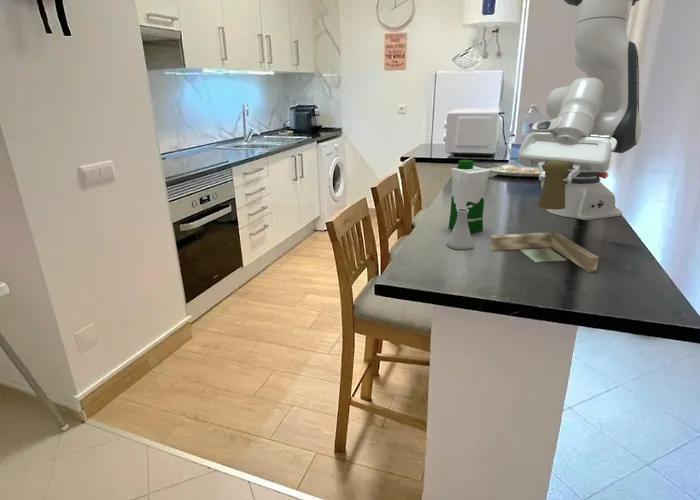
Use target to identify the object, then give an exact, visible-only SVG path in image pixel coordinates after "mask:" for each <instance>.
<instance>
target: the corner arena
mask: <svg viewBox="0 0 700 500" xmlns="http://www.w3.org/2000/svg"><path fill="white" fill-rule="evenodd" d="M489 249H490V250H491V251H494V252H495V251H509V250H510V251H511V250H512V251H513V250H520V252H521V253H523V254H524V255H526V257H527V258H529V259H530V260H532V261H533V262H534V263H546V262H547V263H548V262H549V263H550V262H567V261H566V260H567V259H568V260H569V259H570V260H569V261H571V262H573V263H574V264H575V265H577V266H578V267H580V268H581V267H582V268H581V269H582V270H584V269H585V270H584V271H586V272H587V273H589V272H590V273H593V272H594V271H595V272H597V268H598V264H599V259H600V257H599V256H597V255H596V254H594V253H593V252H592V251H589V250H587V249H586V248H584V247H582V246H581V245H579V244H577V243H576V242H574V241H572V240H570V239H569V238H567V237H565V236H564V235H562V234H560V233H558V232H557V231H550V232H549V231H546V232H543V231H542V232H527V233H511V234H510V233H509V234H508V233H507V234H493V235H492V234H491V235H490V241H489ZM554 250H555V251H554ZM561 255H562V256H561Z"/></svg>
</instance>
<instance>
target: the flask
mask: <svg viewBox="0 0 700 500" xmlns="http://www.w3.org/2000/svg"><path fill="white" fill-rule="evenodd" d="M457 212H458V215H457V220H456V223H455V226H454V228H453V230H451V233H450V235H449V237H448V239H447V242H446V246H447V247H449V248H451V249H454V250H469V249H473V248H474V242H473V238H472V234H470V230H469V226H468V220H467V214H468V213H469V210H468V209H466V208H459V209H457Z"/></svg>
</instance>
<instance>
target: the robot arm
mask: <svg viewBox="0 0 700 500" xmlns="http://www.w3.org/2000/svg"><path fill="white" fill-rule="evenodd" d="M563 1H564V2H565V3H566V4H567V5H571V6H574V7H578V6H580V7H579V11H578V15H577V21H576V28H575V33H574V35H575V36H574V46H575V49H576V50H575V56H574V63H575V66H576V67H577V69H579V70H580V72H583V73H584V74H586V77H580V78H576V79H575V80H574V81H573V82H572V83H570V85H567V86H561V87H555V88H554V89H553V90H552V91H551V92H550V94H549V95H547V99H546V102H545V111H546V114H547V116H548V117H549V118H550V119H549V120H545V121H538V122H535V123H533V124H532V126H531V132H530V133H528V134H527V135H526V136H525V138H524V140H523V141H522V143H521V145H520V147H519V149H518V151H517V159H518V160H517V161H518V162H519V164H520V165H522V166H530V167H538V171H539V175H538V181H540V182H541V181H545V178H546V173H545V172H544V171H543V170H545V169H544V168H545V164H546V163H547V162H548V161H550V160H563V161H566V162H567V163H568V165H569V170H568V172H567V174H565V176H564V178H563V182H564V183H565V208H564V209H557V210H553V209H545V210H546V211H547V212H548V213H550V214H553V215H558V216H561V217H565V218H566V217H567V218H572V219H573V218H575V219H579V220H583V221H589V220H590V221H591V220H598V219H604V218H606V219H607V218H611V217H620V216H622V215H623V212H622V210H621V209H619V208H618V207H616V196H615V194H614V192H612V191H611V190H610V189H609V188H608V187H606V186H605V185H604V184H603V183H602V182H601V179H600V178H602V179H603V180H604V179H605V180H606V179H607V178H608V176H609V173H608V172H607V171H609V167H610V165H611V164H610V163H611V158H612V157H611V156H612V153H617V154H623V153H626V152H628V151H630V150H631V149H633V148H634V147H635V146H637V145H638V142H639V140H640V139H641V138H640V137H641V134H642V123H641V118H640V76H639V75H640V74H639V73H640V72H639V69H640V68H639V53H638V48H637V46H636V43H635V42H633V41H631V40H629V38H628V34H627V21H628V15H629V14H628V13H629V5H630V4H629V3H630V2H629V1H632V2H631V7H634V6H635V5H636V3H637V2H639V1H640V0H563Z"/></svg>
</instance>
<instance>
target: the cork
mask: <svg viewBox="0 0 700 500" xmlns="http://www.w3.org/2000/svg"><path fill="white" fill-rule="evenodd" d="M544 169H545V173H546V178H545V181H544V185H543V188H541V193H540V196H539V200H538V203H537V205H538V207H539V208H541V209H545V210H546V209H553V210H557V209H564V208H565V183H564V182H563V178H564V176H565V174H567V172H568V170H569V165H568V163H567V162H566V161H563V160H550V161H548V162H547V163H546V164H545V168H544Z"/></svg>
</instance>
